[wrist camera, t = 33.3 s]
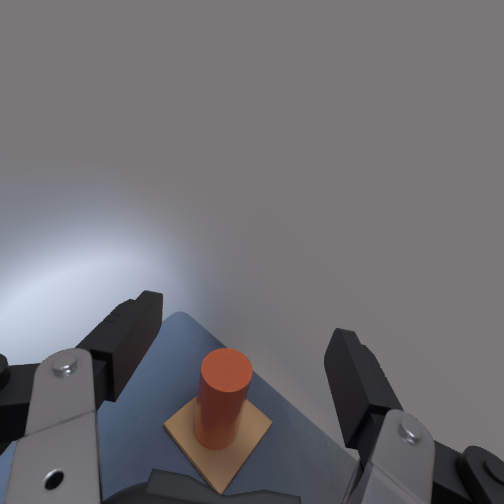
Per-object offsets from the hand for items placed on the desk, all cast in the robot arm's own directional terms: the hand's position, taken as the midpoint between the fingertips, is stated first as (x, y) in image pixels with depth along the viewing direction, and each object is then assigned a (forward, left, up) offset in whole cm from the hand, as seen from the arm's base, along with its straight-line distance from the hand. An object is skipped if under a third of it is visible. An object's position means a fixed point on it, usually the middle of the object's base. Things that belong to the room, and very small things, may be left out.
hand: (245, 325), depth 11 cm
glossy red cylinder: (-9, -6, -25) cm, 27 cm away
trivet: (-9, -6, -26) cm, 28 cm away
